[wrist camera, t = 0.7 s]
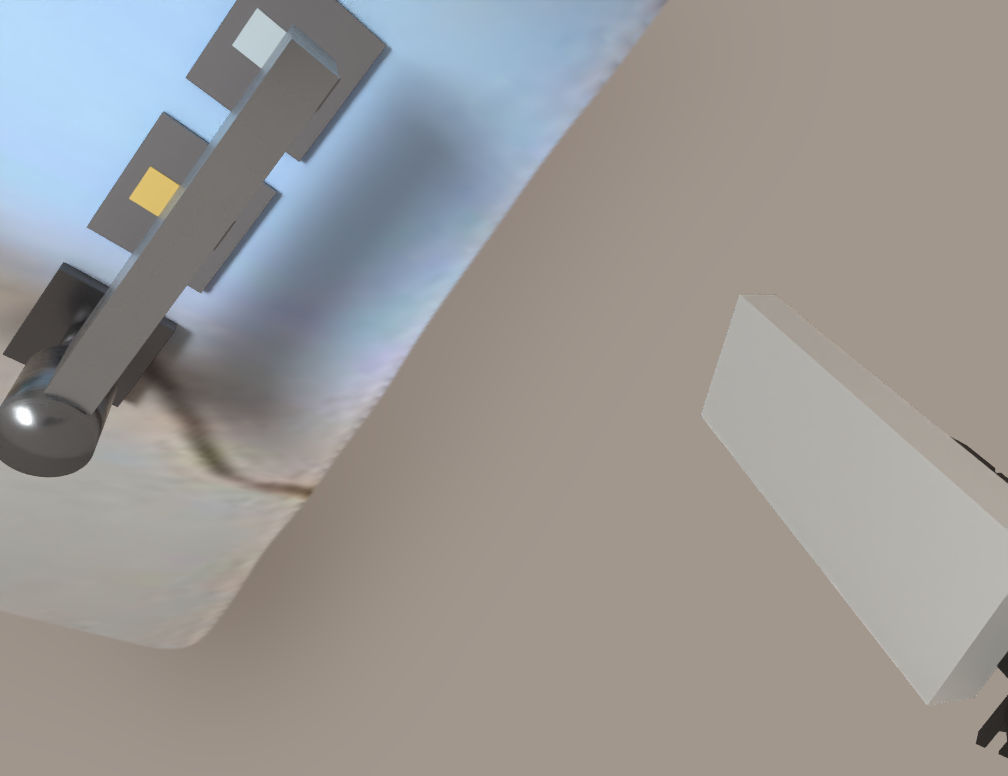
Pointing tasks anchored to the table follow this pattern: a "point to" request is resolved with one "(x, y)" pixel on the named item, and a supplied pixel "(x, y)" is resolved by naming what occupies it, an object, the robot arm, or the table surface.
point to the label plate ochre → (166, 195)
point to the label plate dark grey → (256, 33)
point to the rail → (160, 267)
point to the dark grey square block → (78, 325)
